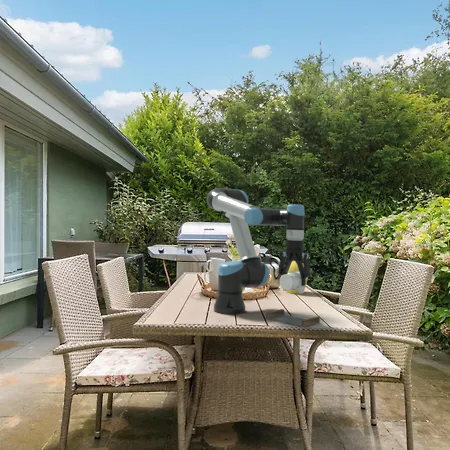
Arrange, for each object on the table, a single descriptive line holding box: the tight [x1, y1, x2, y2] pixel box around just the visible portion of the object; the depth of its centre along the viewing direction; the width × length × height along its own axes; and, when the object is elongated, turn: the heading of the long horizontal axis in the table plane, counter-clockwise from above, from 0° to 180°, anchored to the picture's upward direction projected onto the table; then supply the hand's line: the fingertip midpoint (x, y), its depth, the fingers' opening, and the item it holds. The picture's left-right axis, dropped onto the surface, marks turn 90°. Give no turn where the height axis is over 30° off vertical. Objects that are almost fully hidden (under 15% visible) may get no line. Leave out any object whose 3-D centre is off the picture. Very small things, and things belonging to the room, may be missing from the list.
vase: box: [285, 261, 309, 295], centre depth 254 cm, size 16×16×28 cm
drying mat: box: [265, 313, 321, 328], centre depth 179 cm, size 20×12×1 cm, turn 47°
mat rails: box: [265, 308, 321, 327], centre depth 179 cm, size 20×12×2 cm, turn 47°
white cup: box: [279, 272, 301, 290], centre depth 178 cm, size 8×8×10 cm
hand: (293, 291), depth 179 cm, fingers closed on white cup, 7 cm apart
